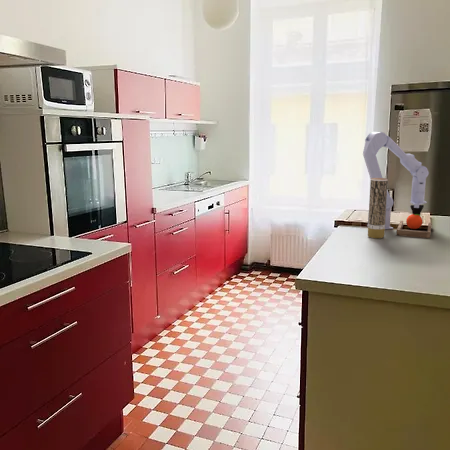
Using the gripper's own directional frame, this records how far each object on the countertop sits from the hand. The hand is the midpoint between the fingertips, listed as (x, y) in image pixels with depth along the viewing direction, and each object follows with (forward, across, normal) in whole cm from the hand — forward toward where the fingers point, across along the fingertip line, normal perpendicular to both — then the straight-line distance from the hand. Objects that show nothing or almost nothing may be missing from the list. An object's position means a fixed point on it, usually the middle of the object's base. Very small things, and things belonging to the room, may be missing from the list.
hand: (415, 220), depth 219 cm
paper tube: (+3, -26, +15) cm, 30 cm away
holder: (+3, -10, 0) cm, 10 cm away
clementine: (+3, -4, 0) cm, 5 cm away
